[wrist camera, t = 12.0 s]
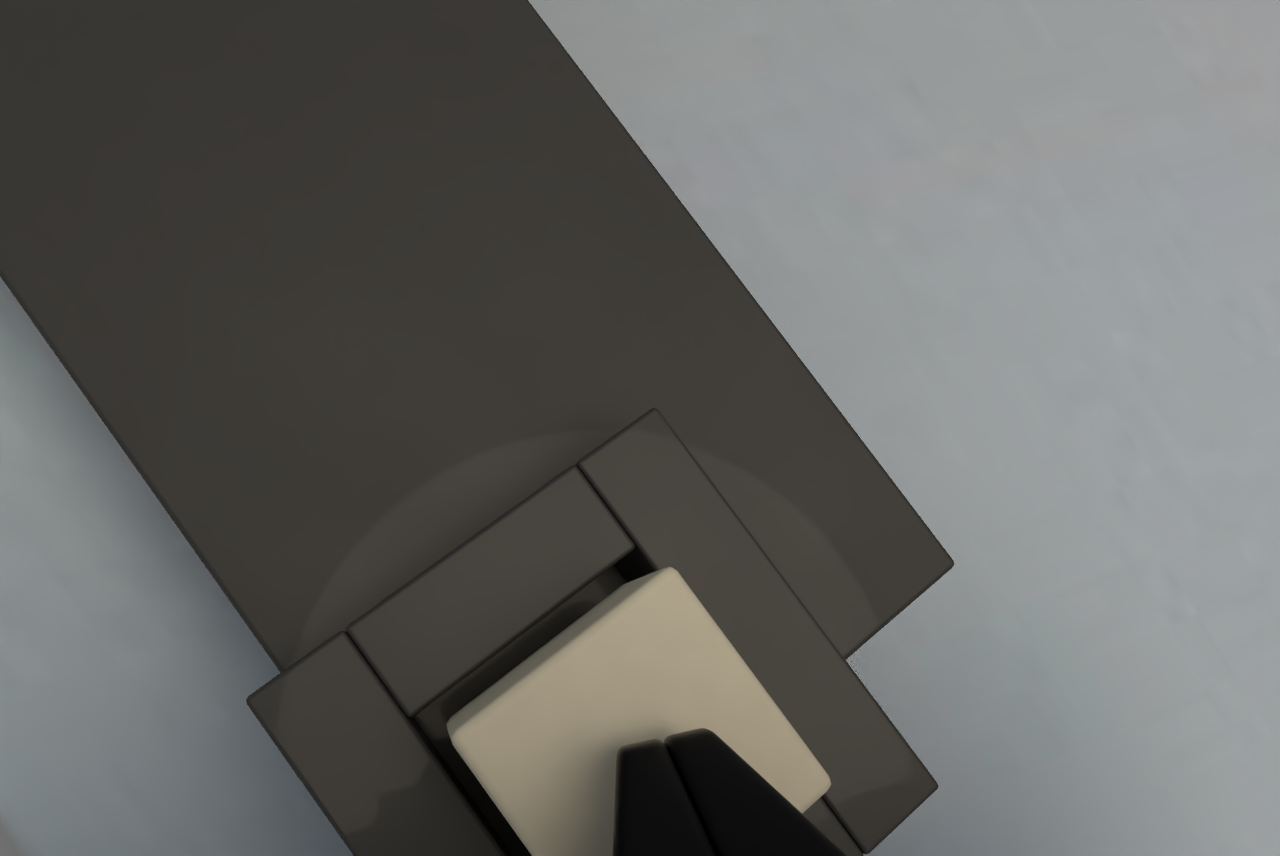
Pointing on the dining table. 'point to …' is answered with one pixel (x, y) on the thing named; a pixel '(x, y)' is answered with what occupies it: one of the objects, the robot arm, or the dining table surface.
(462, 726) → the cream cube block
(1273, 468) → the dining table surface
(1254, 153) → the dining table surface
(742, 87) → the dining table surface
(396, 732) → the dark notched block
